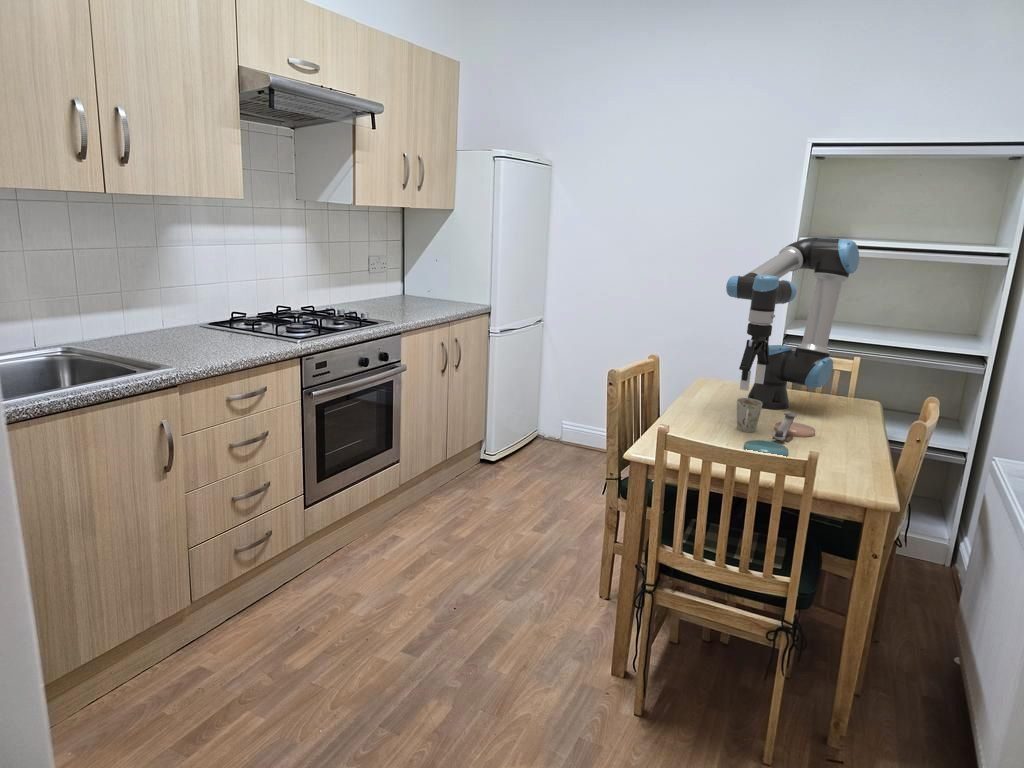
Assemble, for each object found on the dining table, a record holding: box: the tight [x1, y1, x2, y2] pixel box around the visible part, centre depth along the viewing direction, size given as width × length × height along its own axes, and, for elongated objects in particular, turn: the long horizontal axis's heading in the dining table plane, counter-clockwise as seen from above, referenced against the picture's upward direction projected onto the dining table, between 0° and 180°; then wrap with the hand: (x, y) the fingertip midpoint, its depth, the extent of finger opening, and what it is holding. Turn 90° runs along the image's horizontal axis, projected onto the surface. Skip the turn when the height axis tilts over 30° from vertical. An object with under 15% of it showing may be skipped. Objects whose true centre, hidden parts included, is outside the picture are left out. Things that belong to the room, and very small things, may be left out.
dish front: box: [743, 439, 789, 457], centre depth 215 cm, size 13×13×1 cm
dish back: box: [773, 421, 816, 438], centre depth 237 cm, size 13×13×1 cm
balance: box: [771, 410, 798, 443], centre depth 227 cm, size 5×13×8 cm, turn 141°
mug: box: [736, 397, 763, 433], centre depth 233 cm, size 8×13×10 cm, turn 161°
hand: (751, 386), depth 230 cm, fingers open, 13 cm apart
